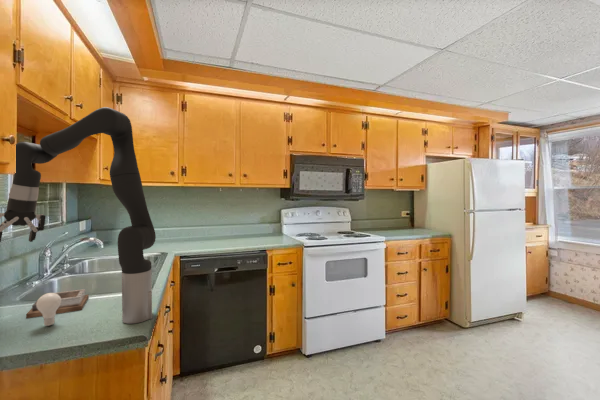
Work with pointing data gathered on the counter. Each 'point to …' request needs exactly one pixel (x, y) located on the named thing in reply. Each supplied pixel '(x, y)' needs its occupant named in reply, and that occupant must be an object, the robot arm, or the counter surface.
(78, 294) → the jig
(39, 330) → the counter surface
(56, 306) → the lightbulb
